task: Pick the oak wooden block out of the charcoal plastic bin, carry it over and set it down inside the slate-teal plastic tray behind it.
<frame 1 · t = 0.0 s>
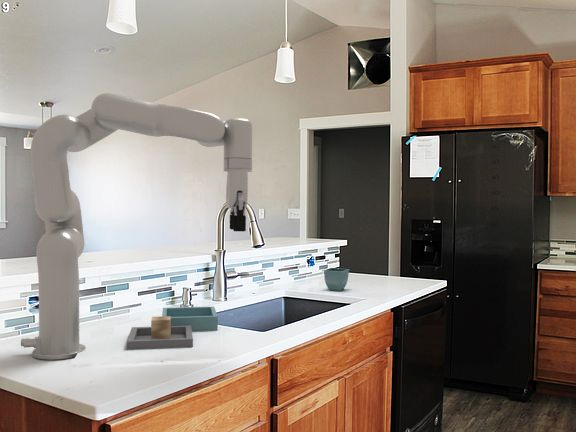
hand: (237, 230, 155), 31 cm above the worktop, tool pointing down, fingers open, 9 cm apart
oak block: (161, 340, 158), point 1 cm above the worktop, touching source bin
tray: (189, 328, 177), on the worktop
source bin: (161, 343, 158), on the worktop
flower pot: (336, 290, 254), on the worktop
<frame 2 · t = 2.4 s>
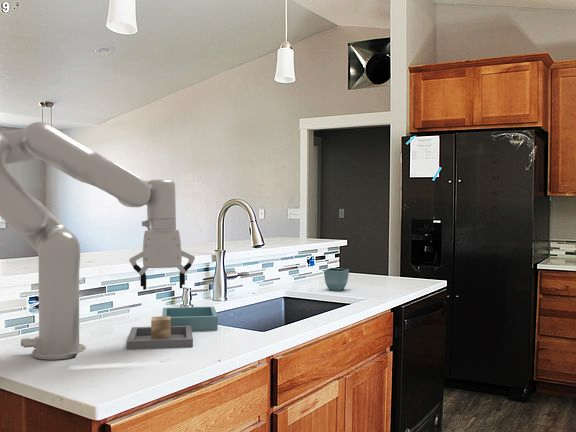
hand: (163, 288, 158), 15 cm above the worktop, tool pointing down, fingers open, 9 cm apart
nothing on the worktop moved.
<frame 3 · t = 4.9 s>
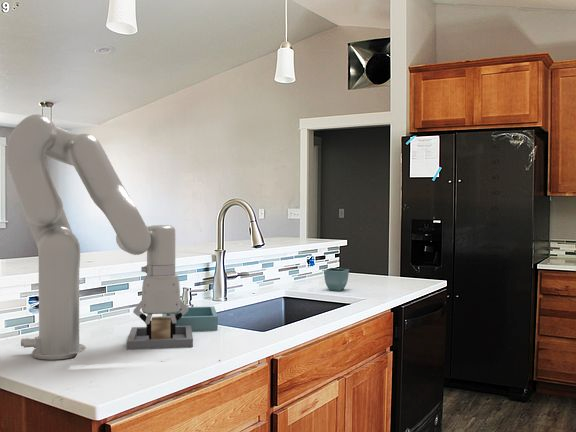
hand: (161, 336, 158), 2 cm above the worktop, tool pointing down, fingers closed on oak block, 4 cm apart
oak block: (161, 340, 158), point 1 cm above the worktop, touching gripper, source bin
everything else where it was.
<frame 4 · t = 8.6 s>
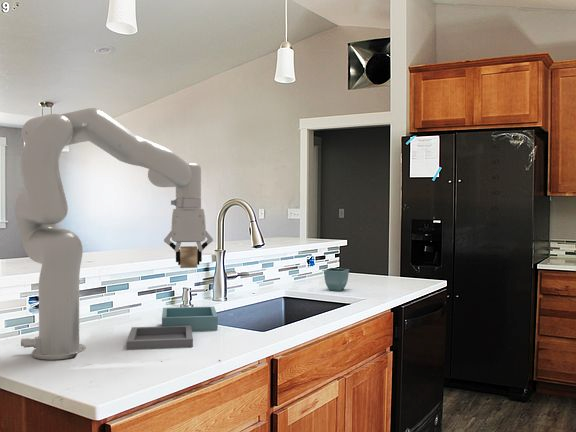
hand: (188, 263, 176), 20 cm above the worktop, tool pointing down, fingers closed on oak block, 4 cm apart
oak block: (188, 266, 176), point 19 cm above the worktop, touching gripper
everything else where it was.
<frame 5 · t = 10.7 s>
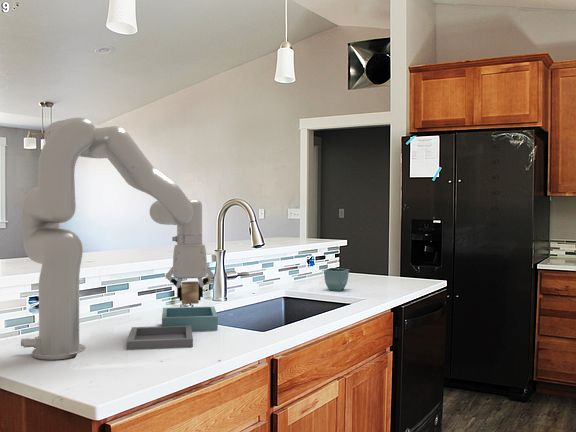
hand: (190, 299, 177), 9 cm above the worktop, tool pointing down, fingers closed on oak block, 4 cm apart
oak block: (190, 302, 177), point 8 cm above the worktop, touching gripper
everything else where it was.
when the fingers open (4 cm above the worktop, at t = 12.4 s): oak block drops 2 cm, resting on tray.
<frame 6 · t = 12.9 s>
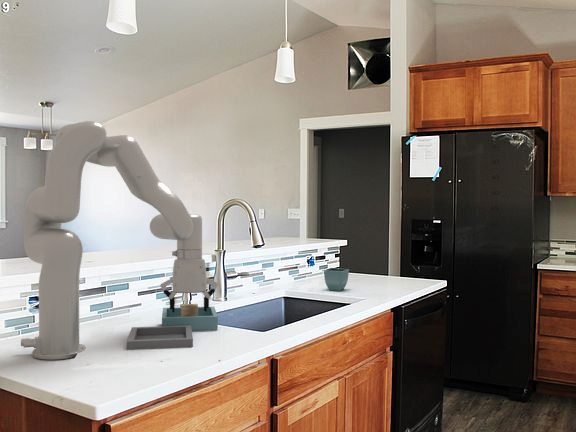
hand: (189, 311, 177), 5 cm above the worktop, tool pointing down, fingers open, 9 cm apart
oak block: (189, 325, 177), point 1 cm above the worktop, touching tray
everything else where it was.
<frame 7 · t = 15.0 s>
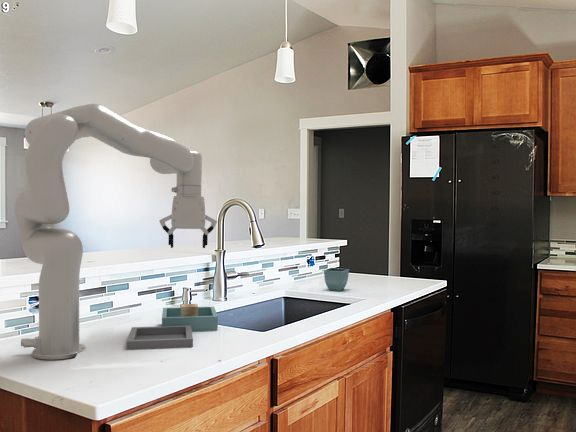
hand: (188, 247, 178), 24 cm above the worktop, tool pointing down, fingers open, 9 cm apart
nothing on the worktop moved.
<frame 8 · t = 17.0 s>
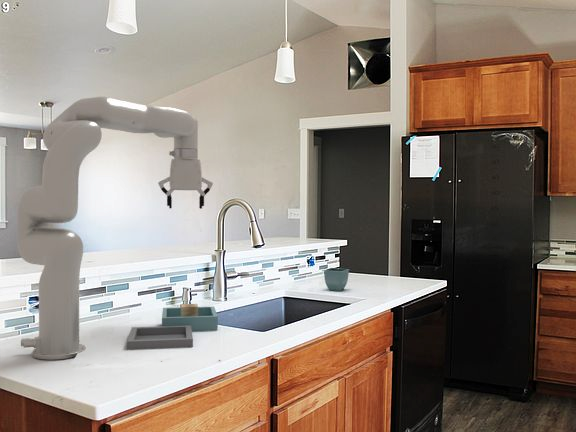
hand: (185, 208, 188), 36 cm above the worktop, tool pointing down, fingers open, 9 cm apart
nothing on the worktop moved.
at the end: oak block inside the target area on the tray (0.1 cm from its centre), point 1.0 cm above the tray's base; oak block tilted 0°; the gripper is holding nothing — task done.
